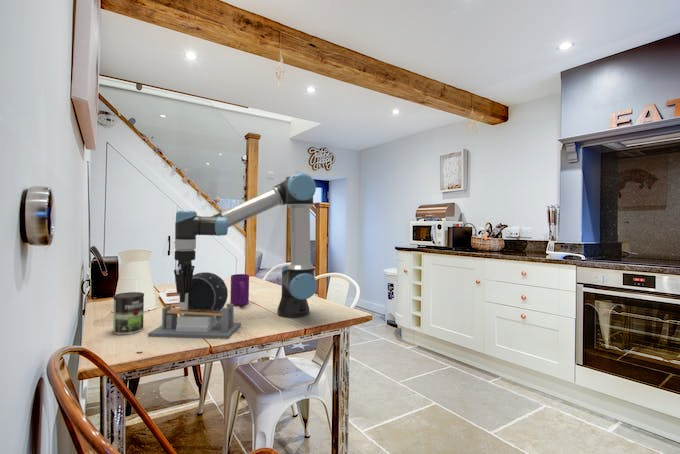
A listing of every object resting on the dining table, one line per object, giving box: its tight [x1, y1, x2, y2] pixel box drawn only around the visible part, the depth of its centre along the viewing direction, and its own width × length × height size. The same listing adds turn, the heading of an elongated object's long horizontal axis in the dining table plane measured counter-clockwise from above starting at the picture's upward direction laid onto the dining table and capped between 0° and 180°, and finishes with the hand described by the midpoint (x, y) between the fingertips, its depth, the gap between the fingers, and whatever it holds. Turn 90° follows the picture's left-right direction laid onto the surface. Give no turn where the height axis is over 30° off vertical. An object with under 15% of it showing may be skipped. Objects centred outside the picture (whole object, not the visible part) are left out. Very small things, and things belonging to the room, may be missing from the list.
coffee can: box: [112, 291, 145, 336], centre depth 137 cm, size 10×10×14 cm
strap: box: [167, 307, 232, 317], centre depth 138 cm, size 24×4×2 cm, turn 89°
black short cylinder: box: [178, 271, 229, 311], centre depth 157 cm, size 11×20×20 cm, turn 78°
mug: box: [229, 273, 250, 307], centre depth 179 cm, size 9×16×15 cm, turn 24°
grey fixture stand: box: [147, 303, 242, 340], centre depth 138 cm, size 30×16×10 cm, turn 89°
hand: (183, 309), depth 138 cm, fingers closed
